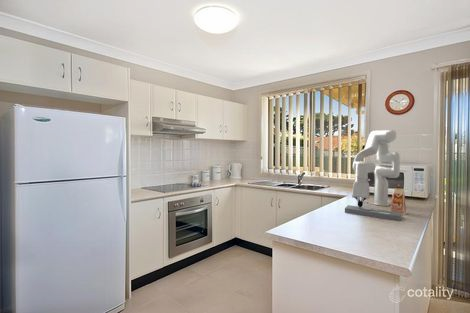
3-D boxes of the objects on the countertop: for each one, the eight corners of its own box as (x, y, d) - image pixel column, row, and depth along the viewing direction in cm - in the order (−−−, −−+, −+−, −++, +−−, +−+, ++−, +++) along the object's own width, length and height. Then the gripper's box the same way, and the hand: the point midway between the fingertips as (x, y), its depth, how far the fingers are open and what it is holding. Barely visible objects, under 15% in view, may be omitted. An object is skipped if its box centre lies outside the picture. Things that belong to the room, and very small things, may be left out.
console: (347, 209, 182) (348, 205, 182) (401, 216, 164) (401, 212, 164) (344, 212, 172) (344, 208, 172) (400, 221, 154) (401, 216, 154)
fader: (364, 207, 173) (364, 201, 173) (371, 208, 171) (371, 202, 171) (363, 209, 169) (363, 202, 169) (370, 210, 167) (370, 203, 166)
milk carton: (405, 215, 170) (406, 185, 169) (389, 212, 175) (390, 183, 175) (406, 212, 177) (407, 184, 176) (390, 210, 183) (392, 182, 182)
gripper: (374, 180, 170) (373, 207, 171) (350, 178, 179) (349, 204, 179) (373, 181, 164) (371, 209, 165) (348, 179, 173) (347, 206, 173)
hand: (360, 206), depth 172 cm, fingers closed
